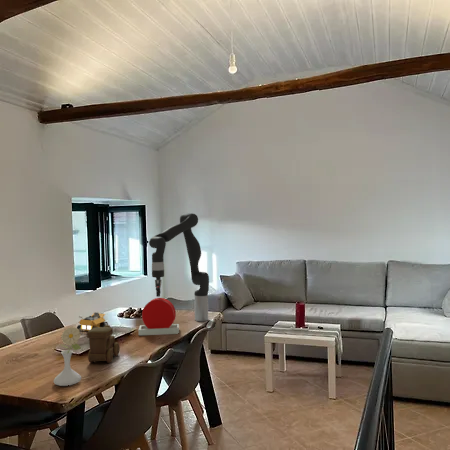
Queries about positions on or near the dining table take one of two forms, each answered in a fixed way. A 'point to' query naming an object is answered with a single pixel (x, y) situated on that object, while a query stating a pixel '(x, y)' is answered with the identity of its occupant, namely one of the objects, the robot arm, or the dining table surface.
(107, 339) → the wooden toy train
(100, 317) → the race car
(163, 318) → the toy clock
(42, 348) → the dining table surface
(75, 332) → the flower in vase
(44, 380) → the dining table surface
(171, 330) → the tray
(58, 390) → the dining table surface
